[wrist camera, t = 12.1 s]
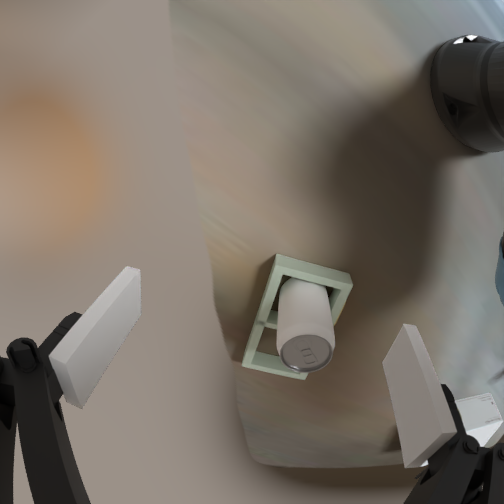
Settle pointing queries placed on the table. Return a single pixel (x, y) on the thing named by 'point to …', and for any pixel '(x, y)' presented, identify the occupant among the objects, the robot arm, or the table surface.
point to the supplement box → (479, 417)
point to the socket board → (270, 317)
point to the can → (304, 326)
